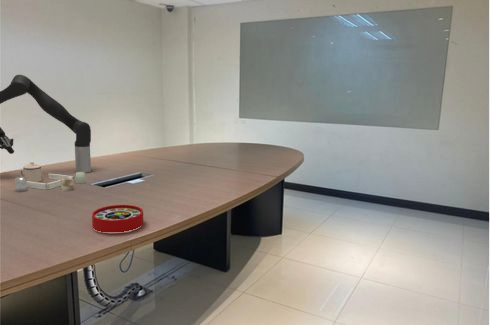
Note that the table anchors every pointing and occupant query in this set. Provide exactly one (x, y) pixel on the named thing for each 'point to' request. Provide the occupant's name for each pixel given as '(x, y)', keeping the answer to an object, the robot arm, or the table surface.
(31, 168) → the teacup with lid
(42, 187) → the sorting bay
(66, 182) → the birch block
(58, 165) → the table surface
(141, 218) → the toy clock
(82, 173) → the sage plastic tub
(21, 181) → the metal cylinder
